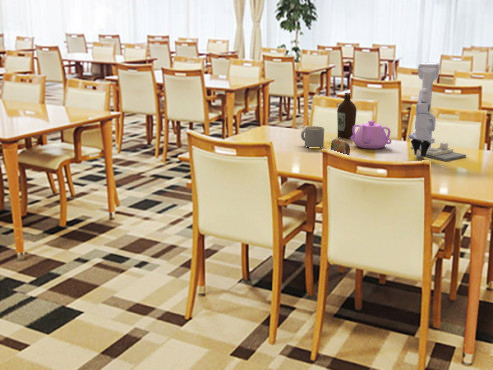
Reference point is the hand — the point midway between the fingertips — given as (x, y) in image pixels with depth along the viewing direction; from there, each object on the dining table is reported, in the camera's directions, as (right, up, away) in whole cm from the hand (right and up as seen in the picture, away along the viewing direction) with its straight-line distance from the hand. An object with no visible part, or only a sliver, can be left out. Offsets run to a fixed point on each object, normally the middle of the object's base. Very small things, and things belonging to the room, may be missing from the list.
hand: (420, 155), depth 293 cm
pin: (0, -1, 0) cm, 1 cm away
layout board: (+12, 0, +4) cm, 13 cm away
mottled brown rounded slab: (-38, -1, +4) cm, 38 cm away
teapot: (-20, +5, +25) cm, 32 cm away
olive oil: (-27, +13, +52) cm, 60 cm away
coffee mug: (-49, +6, +30) cm, 58 cm away
